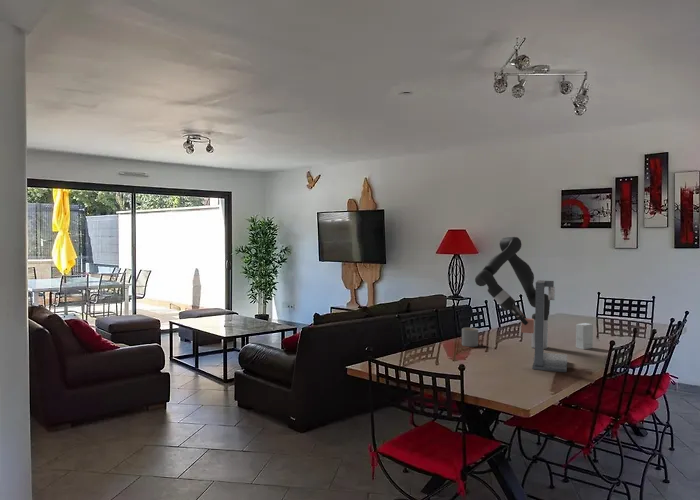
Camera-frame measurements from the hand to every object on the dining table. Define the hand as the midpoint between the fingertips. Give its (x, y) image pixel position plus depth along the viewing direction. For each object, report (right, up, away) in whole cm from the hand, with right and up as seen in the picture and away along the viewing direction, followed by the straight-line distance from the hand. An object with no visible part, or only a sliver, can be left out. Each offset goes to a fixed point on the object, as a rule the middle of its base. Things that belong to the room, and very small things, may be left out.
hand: (527, 323), depth 280 cm
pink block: (0, -5, 0) cm, 5 cm away
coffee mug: (-20, -20, +46) cm, 54 cm away
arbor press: (+9, -21, -8) cm, 24 cm away
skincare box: (+47, -21, +37) cm, 63 cm away
